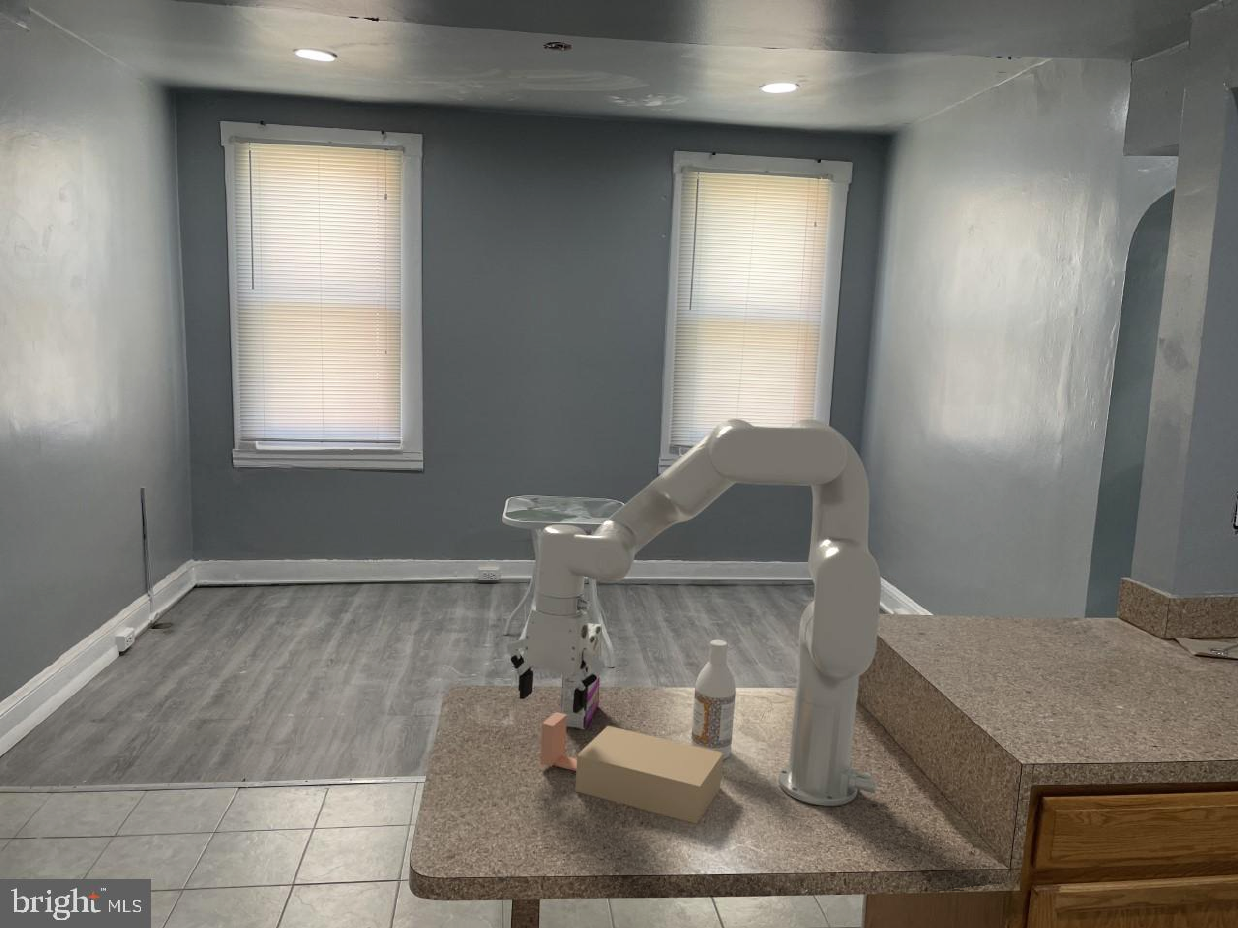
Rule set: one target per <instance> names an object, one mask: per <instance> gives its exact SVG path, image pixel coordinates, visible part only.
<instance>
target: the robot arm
mask: <svg viewBox="0 0 1238 928" xmlns="http://www.w3.org/2000/svg"><path fill="white" fill-rule="evenodd" d="M737 483H738V484H747V485H760V486H761V485H763V486H767V485H768V486H805V487H806V486H807V487H808V486H809V487H811V492H812V519H811V520H812V522H811V523H812V524H811V534H810V545H809V546H810V547H809V553H808V561H807V567H808V572H809V574H810V576H811V577H810V578H811V580H812V582H813V585H814V594H813V595H814V597H813V598H814V599H813V601H811V602H810V603H809V604H808V605H807V606H806V607H805V609H804V610H803V613H802V614H801V618H800V622H799V630H798V667H797V676H796V677H797V679H796V690H795V700H794V707H793V709H794V711H793V719H792V721H793V722H792V731H791V742H790V753H789V764H787V765H785V766H783V767H782V768H780V770H779V773H778V778H777V779H778V780H777V781H778V782H777V783H778V785H779V786H780V788H781V789H782V790H783V791H784V792H785V793H786V794H788V795H789V796H791V797H792V798H794V799H796V800H798V801H801V802H804V803H807V804H812V805H816V806H824V807H834V806H842V805H845V804H848V803H850V802H852V801H853V800H855V798H856V797H857V795H858V790H861V791H863V792H867V793H870V794H876V793H877V789H878V788H877V787H878V781H877V780H872V773H867V772H860V771H857V769H855V768H854V764H855V760H853V759H851V757H852V749H853V748H852V747H853V740H854V739H853V738H854V727H855V720H856V719H855V718H856V709H857V708H856V707H857V702H858V693H859V692H858V691H859V682H860V681H859V679H860V676H862V675H863V674H864V673H865V672H866V671H867V670H868V669H869V668H870V666H871V664H872V663H873V660H874V658H875V654H876V649H877V644H878V643H877V641H878V633H879V623H880V622H879V619H880V608H881V596H882V595H881V593H882V580H881V579H882V578H881V573H880V568H879V565H878V563H877V561H876V559H875V557H874V556H873V555H872V554H871V552H870V550H869V544H868V543H869V521H870V518H869V517H870V514H869V513H870V487H869V481H868V476H867V472H866V469H865V467H864V464H863V461H862V459H861V458H860V456H859V454H858V452H857V451H856V449H855V448H854V447H853V445H852V444H851V443H850V441H849V440H848V439H847V438H846V437H845V436H844V435H842V433H840V432H839V431H838V430H836V429H835V428H833V427H832V426H830V425H829V424H827V423H825V422H822V421H820V420H817V419H813V418H812V419H810V418H808V419H801V420H799V421H796V422H795V423H793V424H792V425H791V426H789V427H768V426H766V427H765V426H754V425H753V424H751V423H749V422H748V421H745V420H742V419H740V418H739V419H737V418H734V419H728V420H727V419H726V420H725V421H723V422H721V423H720V424H718V425H717V426H716V427H714V428H713V429H711V431H710V432H708V433H707V434H706V435H704V436H703V438H701V439H700V440H699V441H698V442H696V444H694V445H693V447H691V448H690V449H688V451H687V452H685V453H684V454H683V455H682V456H681V457H680V458H679V459H677V460H676V461H675V462H673V463H672V464H671V465H670V466H669V467H668V468H667V469H666V470H665V471H663V472H662V473H661V474H660V475H659V476H657V477H656V478H655V479H653V480H652V481H650V483H649V484H648V485H647V486H645V488H643V489H642V490H641V491H639V492H638V493H637V494H636V495H634V496H633V497H632V498H630V499H629V500H628V501H627V502H626V503H625V504H623V505H622V506H621V507H619V509H617V510H616V511H615V512H614V513H613V514H612V515H610V516H609V517H608V518H607V519H606V520H605V521H603V522H602V523H601V525H599V526H598V527H597V529H596V530H595V531H594V533H593V534H592V535H588V534H587V533H586V531H585V530H584V529H582V528H581V527H579V526H576V525H571V524H552V525H548V526H546V527H544V528H543V529H542V531H541V532H540V538H539V551H538V552H539V553H538V566H537V579H536V591H535V592H536V593H535V604H534V605H532V608H531V610H530V613H529V617H528V620H527V624H526V630H525V635H524V637H523V638H521V639H518V640H514V641H512V642H509V643H508V644H507V645H506V649H507V652H508V654H509V657H510V662H511V664H512V665H513V666H514V667H515V669H516V671H515V672H516V673H517V675H518V688H517V690H518V691H519V699H520V700H525V699H526V698H527V697H529V696H530V695H531V694H533V684H534V672H533V671H534V670H532V669H531V668H533V669H538V670H541V671H545V672H549V673H554V674H556V675H561V676H562V675H565V676H571V677H572V679H573V680H574V682H575V684H576V685H577V688H576V689H575V690H574V700H573V712H574V713H578V712H579V711H580V710H582V709H583V708H584V707H585V706H586V704H587V696H588V686H589V685H591V684H592V683H594V682H595V681H596V680H597V679H598V678H599V677H601V676H602V674H603V672H604V670H605V669H606V667H607V666H606V664H605V663H604V662H603V661H601V659H600V660H599V659H598V658H596V657H595V656H594V655H593V654H591V653H590V652H589V625H588V623H589V619H588V613H587V611H589V610H590V608H591V601H589V600H587V599H585V593H584V590H585V578H589V579H592V580H595V581H599V582H604V583H615V582H618V581H619V582H620V581H621V580H623V579H624V578H626V577H627V576H628V575H629V573H630V572H631V571H632V569H633V565H634V559H635V555H636V554H637V553H638V552H639V551H641V550H642V549H643V548H644V547H645V546H646V545H647V544H648V543H650V542H651V541H652V540H653V539H655V538H656V537H657V536H658V535H659V534H661V533H662V532H664V531H665V530H666V529H668V528H669V527H671V526H673V525H675V524H677V523H682V522H687V521H690V520H691V519H693V518H696V516H698V515H699V514H701V513H702V512H703V511H704V510H705V509H707V507H709V506H710V505H711V504H712V503H713V502H715V500H717V499H718V498H719V497H720V496H722V494H723V493H725V492H726V491H727V490H728V489H729V488H731V487H732V486H733V485H735V484H737ZM585 610H587V611H585ZM522 648H523V654H522V655H521V654H520V651H519V649H522ZM588 664H589V665H590V666H591V667H592V668H593V672H592V673H591V675H590V676H588V674H587V672H586V671H585V668H587V667H588Z"/></svg>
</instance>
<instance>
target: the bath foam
mask: <svg viewBox="0 0 1238 928" xmlns="http://www.w3.org/2000/svg"><path fill="white" fill-rule="evenodd" d="M709 642H710V643H709V657H708V662H707V663H706V664H705V666H704V667H703V668H702V670H701V671H700V672H699V674H698V675H697V679H696V681H695V686H694V697H693V711H692V712H693V713H692V724H691V742H690V745H692V746H696V747H700V748H704V749H708V750H713V751H717V752H721V753H723V760H726V759H728V758H729V757H730V756H731V752H732V742H733V731H734V719H735V707H736V706H735V705H736V696H737V695H736V693H737V691H736V690H737V689H736V688H737V687H736V681H735V678H734V675H733V673H732V671H731V669H730V667H729V666H728V664H727V656H728V655H727V654H728V642H727V641H725V640H722V639H713V640H711V641H709ZM723 760H722V761H723Z"/></svg>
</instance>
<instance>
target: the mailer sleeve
mask: <svg viewBox="0 0 1238 928" xmlns="http://www.w3.org/2000/svg"><path fill="white" fill-rule="evenodd" d="M576 759H577V768H576V771H575V789H574V790H575V792H577V793H581V794H583V795H588V796H592V797H595V798H599V799H601V800H602V799H603V800H606V801H610V802H614V803H618V804H621V805H625V806H628V807H629V806H630V807H633V808H635V809H636V808H637V809H640V810H643V811H644V810H645V811H647V812H652V813H653V814H654V813H655V814H659V815H662V816H666V817H671V818H673V819H677V820H680V821H684V822H688V823H692V824H696V825H698V824H699V821H701V819H702V817H703V816H704V815H705V813H706V811H707V810H708V808H709V807H710V805H711V803H712V802H713V800H714V798H715V797H716V796H717V794H718V792H719V791H720V789H721V783H722V772H723V753H721V752H717V751H713V750H708V749H704V748H700V747H696V746H692V745H691V744H687V743H683V742H678V741H674V740H669V739H666V738H662V737H658V736H653V735H649V734H646V733H645V734H644V733H641V732H637V731H632V730H627V729H623V728H619V727H615V726H611V725H606V726H605V728H603V730H602V731H601V732H600V733H598V734H597V735H596V736H595V737H594V738H593V739H592V740H591V741H590V742H589V743H588V744H587V745H586V746H585V747H584V748H583V749H581V751H580V752H579V753H578V754H577V755H576Z"/></svg>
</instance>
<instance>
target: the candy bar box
mask: <svg viewBox="0 0 1238 928" xmlns="http://www.w3.org/2000/svg"><path fill="white" fill-rule="evenodd" d="M588 625H589V652H590V653H591V654H593V655H594V656H595V657H596V658H598V659H599V660H600V661H601V658H602V657H601V653H602V630H603V624H601V623H593V622H588ZM585 671H586V672H587V674H588V676H590V675H591V673H592V672H593V668H592V667H591V666H590V665H589V664H588V667H587V668H585ZM561 676H562V677H561V678H562V679H561V680H562V681H561V682H562V683H561V703H560V705H561V707H560V713H563V714H567V721H566V729H567V728H569V729H577V730H586V729H587V727H588V725H589V724H590V721H591V719H592V718H593V716H594V715H595V713H596V710H597V709H598V707H599V706H600V703H599V700H600V699H599V698H600V677H601V676H600V677H599V678H598V679H597V680H596V681H595V682H594V683H592V684H591V685H589V686H588V696H587V704H586V706H585V707H584V708H583V709H582V710H580V711H579V712H578V713H574V712H573V700H574V690H575V689H576V688H577V685H576V684H575V682H574V680H573V679H572V677H571V676H565V675H561Z"/></svg>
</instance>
